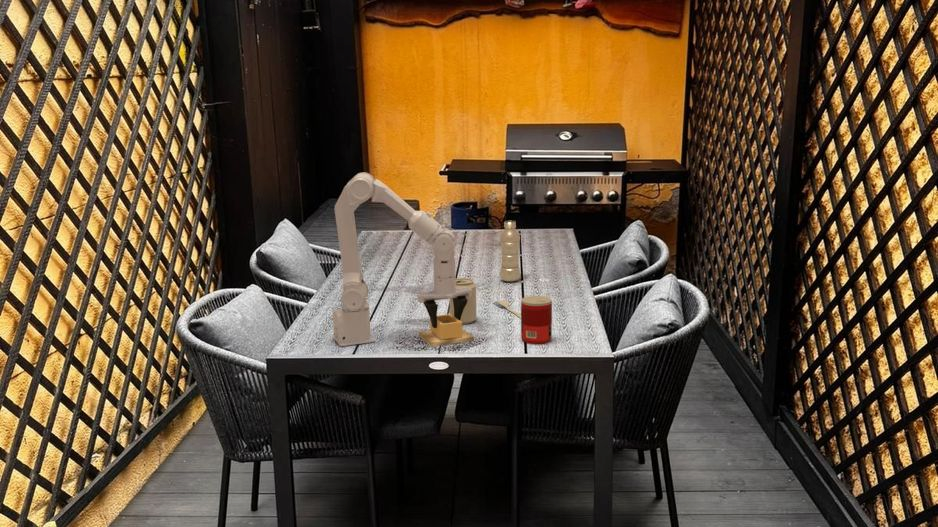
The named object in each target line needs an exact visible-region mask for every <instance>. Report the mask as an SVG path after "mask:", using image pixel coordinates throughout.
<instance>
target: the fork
mask: <svg viewBox="0 0 938 527" xmlns="http://www.w3.org/2000/svg"><path fill="white" fill-rule="evenodd" d="M492 304H500V305H501V306H503V307H505V309H507V310H508V311H509V312H511V313H513V314H514V315H516V316H517V317H518V318H519V319H521V312H518V311H516V310H513V309H511V308H510V307H509V305H510V303H509V301H507V300H499V301H494V302H492Z"/></svg>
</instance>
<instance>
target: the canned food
mask: <svg viewBox="0 0 938 527" xmlns="http://www.w3.org/2000/svg"><path fill="white" fill-rule="evenodd" d="M520 314H521V318H520V325H521V326H520V338H521V340H522V342H523V343H526V344H529V343H530V345H544V344H548V343H549V342H551V340H552V336H553V335H552V334H553V333H552V332H553V331H552V326H553V324H552V322H553V318H552V317H553V316H552V315H553V301H552V298H550V297H548V296H545V295H544V296H541V295H530V296H526V297H523V298H521V301H520ZM547 342H548V343H547Z"/></svg>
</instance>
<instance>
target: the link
mask: <svg viewBox="0 0 938 527" xmlns="http://www.w3.org/2000/svg"><path fill="white" fill-rule="evenodd" d="M442 321H449V323H442ZM429 324H430V327H429V328H430V329H429V331H431V332H433V333H434V334H435V335H436V336H438V337H439V338H440V339H441V340H442V339H449V338H456V337H462V328H463V324H462V322H461V321H460V320H458V319H457V318H456V317H454V316H453V315H451V314H450V313H447V314H439V315H438V314H437V328H434V327H432V324H431V319H430V318H429Z"/></svg>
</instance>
